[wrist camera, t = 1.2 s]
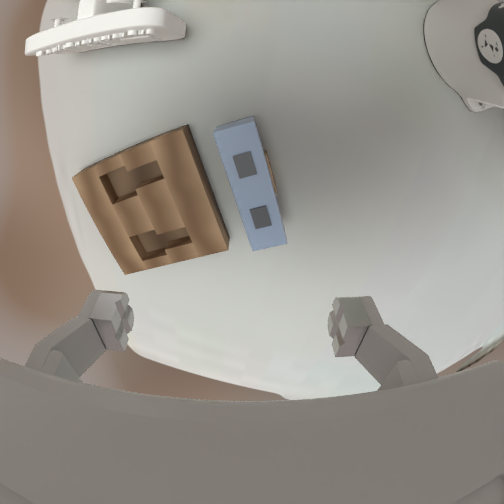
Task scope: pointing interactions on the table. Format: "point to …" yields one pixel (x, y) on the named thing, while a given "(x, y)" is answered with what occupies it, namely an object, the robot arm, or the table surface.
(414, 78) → the table surface
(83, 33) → the cable organizer
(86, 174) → the board
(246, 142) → the strip
